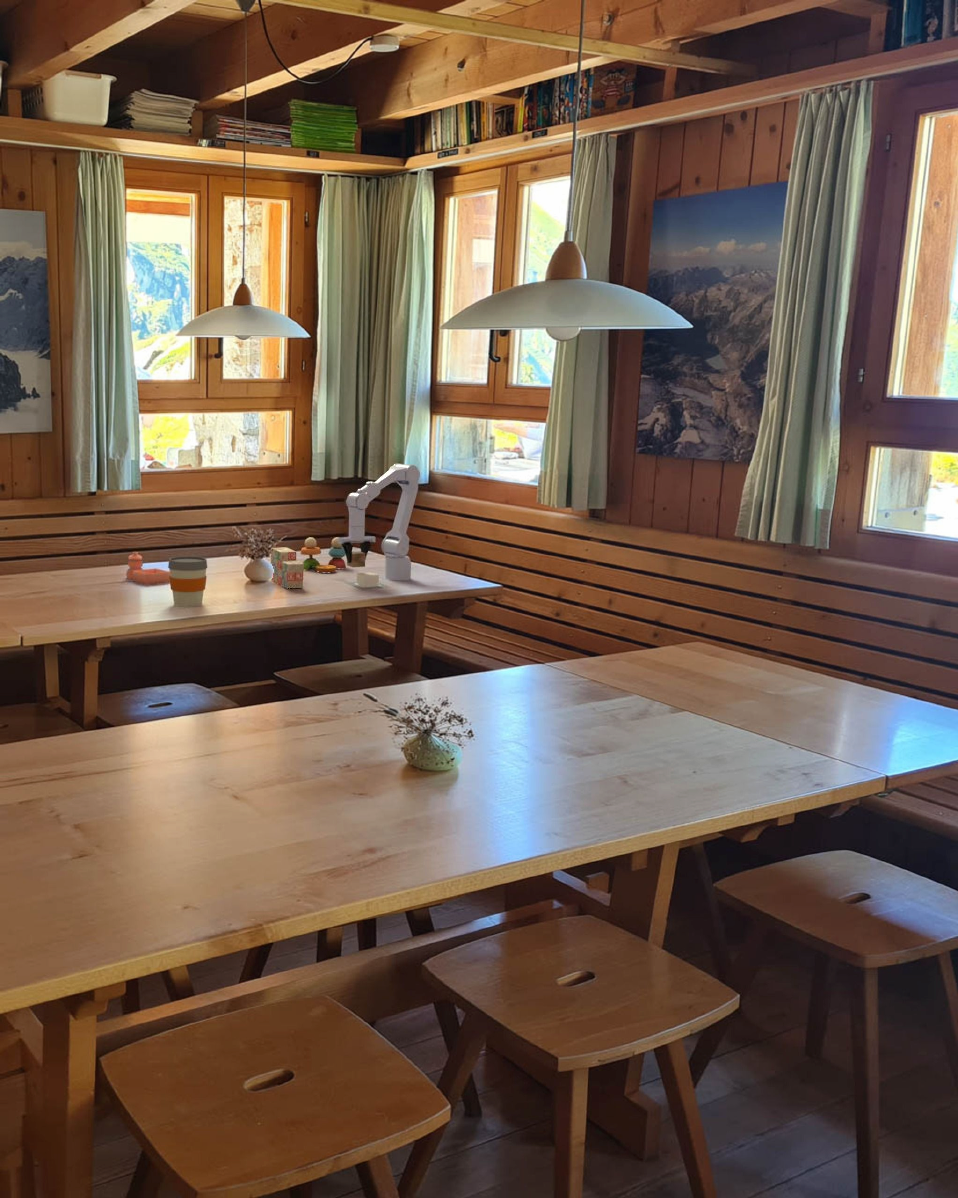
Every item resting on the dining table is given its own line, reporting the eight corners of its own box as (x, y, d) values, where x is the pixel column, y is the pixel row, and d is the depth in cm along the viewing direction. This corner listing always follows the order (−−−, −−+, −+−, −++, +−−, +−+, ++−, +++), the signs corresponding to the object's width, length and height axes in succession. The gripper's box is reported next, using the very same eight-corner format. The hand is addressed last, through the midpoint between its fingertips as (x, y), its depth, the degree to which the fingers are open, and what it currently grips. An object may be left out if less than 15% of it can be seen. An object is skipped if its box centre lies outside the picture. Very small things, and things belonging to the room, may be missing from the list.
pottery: (170, 583, 428) (169, 556, 426) (147, 585, 421) (146, 558, 419) (142, 576, 439) (141, 549, 437) (119, 578, 432) (119, 552, 430)
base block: (371, 583, 440) (371, 572, 440) (378, 585, 436) (378, 575, 435) (356, 583, 437) (356, 573, 437) (364, 586, 432) (364, 575, 432)
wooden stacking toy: (319, 574, 457) (320, 542, 455) (296, 567, 470) (296, 536, 467) (358, 571, 468) (359, 539, 466) (334, 564, 481) (335, 534, 479)
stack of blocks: (303, 589, 426) (303, 555, 424) (286, 589, 423) (286, 555, 421) (286, 578, 445) (287, 546, 443) (270, 579, 442) (270, 547, 440)
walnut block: (359, 564, 441) (359, 551, 440) (365, 566, 437) (365, 553, 436) (346, 565, 438) (347, 551, 437) (352, 567, 434) (353, 553, 433)
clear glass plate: (373, 581, 445) (373, 580, 445) (390, 588, 434) (390, 586, 434) (344, 583, 439) (344, 582, 439) (361, 590, 428) (361, 589, 427)
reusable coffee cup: (212, 606, 389) (212, 561, 386) (174, 608, 383) (174, 563, 380) (201, 599, 400) (200, 555, 397) (164, 601, 394) (163, 557, 391)
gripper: (369, 523, 442) (369, 559, 444) (334, 524, 434) (333, 561, 437) (378, 525, 436) (377, 562, 438) (342, 527, 428) (341, 564, 431)
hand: (356, 562), depth 437 cm, fingers closed on walnut block, 5 cm apart
